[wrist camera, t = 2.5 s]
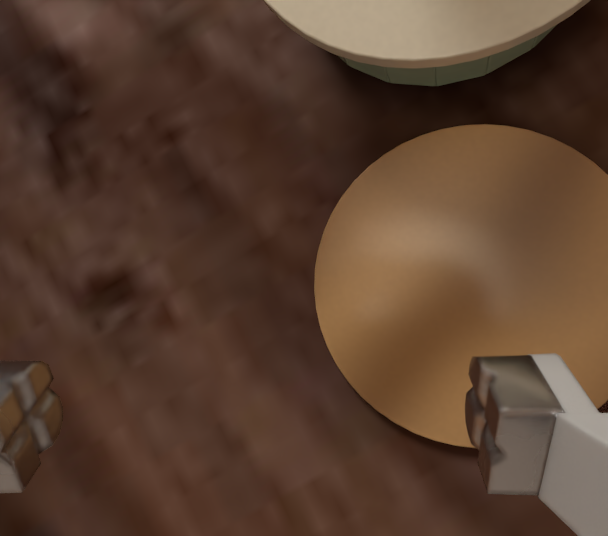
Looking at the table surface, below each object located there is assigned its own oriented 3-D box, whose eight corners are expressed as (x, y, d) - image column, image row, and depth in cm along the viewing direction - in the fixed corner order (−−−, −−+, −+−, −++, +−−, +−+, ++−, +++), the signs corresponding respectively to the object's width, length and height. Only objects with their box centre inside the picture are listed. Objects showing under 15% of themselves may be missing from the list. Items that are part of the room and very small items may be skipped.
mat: (267, 343, 27) (263, 344, 26) (402, 79, 26) (402, 75, 25) (544, 509, 23) (546, 515, 23) (721, 212, 22) (728, 210, 21)
